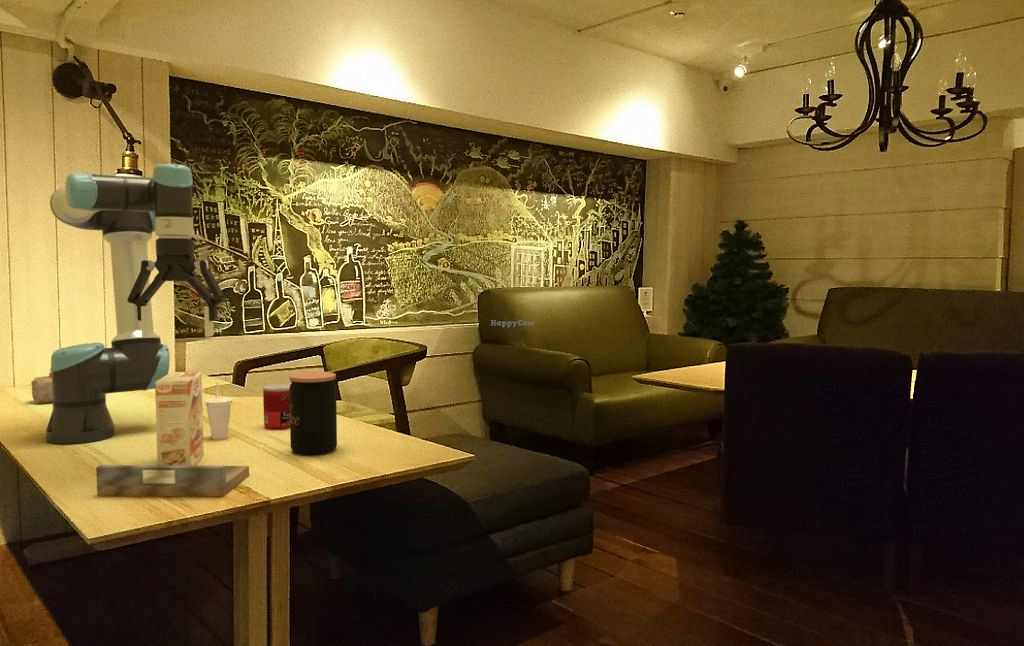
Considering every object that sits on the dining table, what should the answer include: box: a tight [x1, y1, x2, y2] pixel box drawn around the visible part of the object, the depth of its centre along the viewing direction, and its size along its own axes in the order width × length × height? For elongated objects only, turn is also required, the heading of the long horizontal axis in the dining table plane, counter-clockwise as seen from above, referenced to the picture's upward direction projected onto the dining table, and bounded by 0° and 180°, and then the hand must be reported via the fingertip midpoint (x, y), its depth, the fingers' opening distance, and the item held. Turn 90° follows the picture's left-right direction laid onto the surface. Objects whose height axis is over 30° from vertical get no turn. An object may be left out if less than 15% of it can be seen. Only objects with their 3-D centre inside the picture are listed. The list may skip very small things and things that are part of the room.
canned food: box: [262, 383, 291, 431], centre depth 202 cm, size 8×8×11 cm
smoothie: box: [204, 382, 233, 441], centre depth 189 cm, size 6×6×14 cm
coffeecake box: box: [154, 371, 205, 466], centre depth 165 cm, size 15×7×20 cm, turn 12°
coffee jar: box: [289, 371, 338, 456], centre depth 177 cm, size 11×11×18 cm
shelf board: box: [95, 464, 250, 497], centre depth 150 cm, size 24×14×6 cm, turn 90°
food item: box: [31, 372, 53, 405], centre depth 238 cm, size 14×8×10 cm, turn 122°
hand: (178, 336), depth 164 cm, fingers open, 13 cm apart
